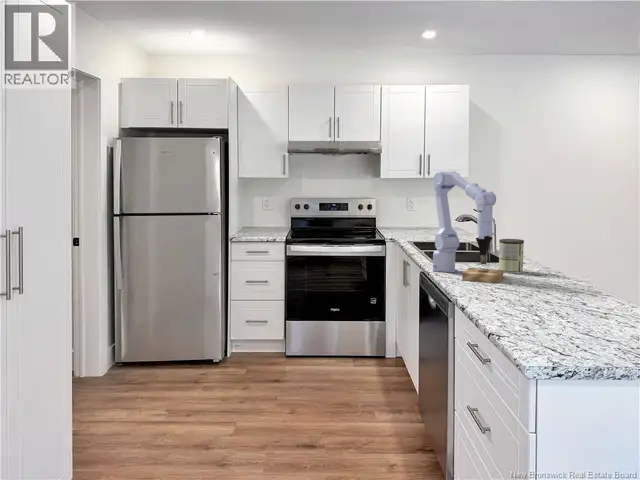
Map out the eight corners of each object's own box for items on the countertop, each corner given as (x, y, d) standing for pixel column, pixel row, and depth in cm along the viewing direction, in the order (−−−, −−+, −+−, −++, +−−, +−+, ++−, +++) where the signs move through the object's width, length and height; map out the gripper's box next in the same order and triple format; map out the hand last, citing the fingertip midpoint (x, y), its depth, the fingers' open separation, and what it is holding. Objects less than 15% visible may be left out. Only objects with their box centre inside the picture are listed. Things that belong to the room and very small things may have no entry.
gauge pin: (479, 264, 228) (480, 242, 227) (481, 263, 230) (482, 241, 229) (485, 264, 227) (486, 242, 226) (487, 263, 229) (488, 242, 228)
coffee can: (496, 269, 252) (497, 238, 250) (519, 270, 251) (520, 238, 249) (501, 273, 242) (502, 241, 240) (525, 273, 241) (526, 241, 239)
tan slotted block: (462, 280, 226) (462, 272, 225) (468, 274, 238) (469, 267, 238) (498, 282, 220) (498, 275, 219) (503, 277, 232) (503, 270, 232)
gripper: (492, 223, 218) (491, 257, 220) (497, 220, 231) (496, 253, 233) (473, 222, 221) (472, 256, 223) (480, 220, 234) (479, 252, 236)
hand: (483, 254), depth 228 cm, fingers closed on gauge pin, 2 cm apart
